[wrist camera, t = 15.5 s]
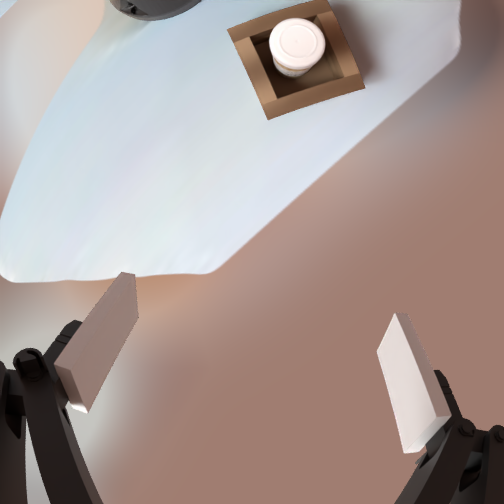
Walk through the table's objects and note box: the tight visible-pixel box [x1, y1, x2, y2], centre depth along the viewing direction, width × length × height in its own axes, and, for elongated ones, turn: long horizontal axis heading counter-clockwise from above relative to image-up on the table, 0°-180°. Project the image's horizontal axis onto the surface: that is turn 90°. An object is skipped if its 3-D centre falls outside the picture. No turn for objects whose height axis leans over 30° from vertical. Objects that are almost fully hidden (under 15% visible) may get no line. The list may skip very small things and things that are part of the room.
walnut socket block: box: [227, 0, 365, 120], centre depth 31 cm, size 11×11×7 cm
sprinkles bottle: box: [269, 18, 325, 79], centre depth 27 cm, size 5×5×13 cm
